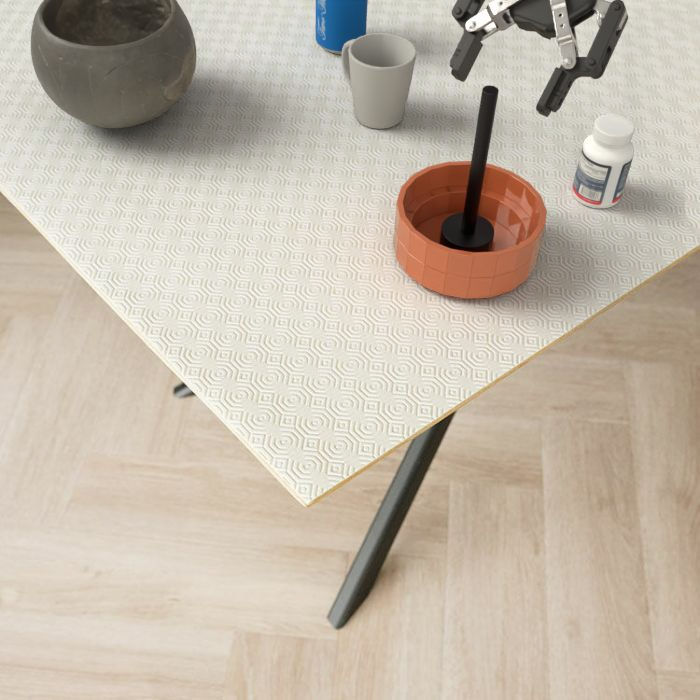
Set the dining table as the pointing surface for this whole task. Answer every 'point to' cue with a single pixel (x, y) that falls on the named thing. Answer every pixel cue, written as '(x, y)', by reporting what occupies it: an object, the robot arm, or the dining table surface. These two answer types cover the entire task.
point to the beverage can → (339, 22)
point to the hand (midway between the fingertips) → (498, 95)
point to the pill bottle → (604, 162)
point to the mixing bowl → (495, 205)
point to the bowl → (113, 58)
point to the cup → (379, 77)
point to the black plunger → (474, 188)
